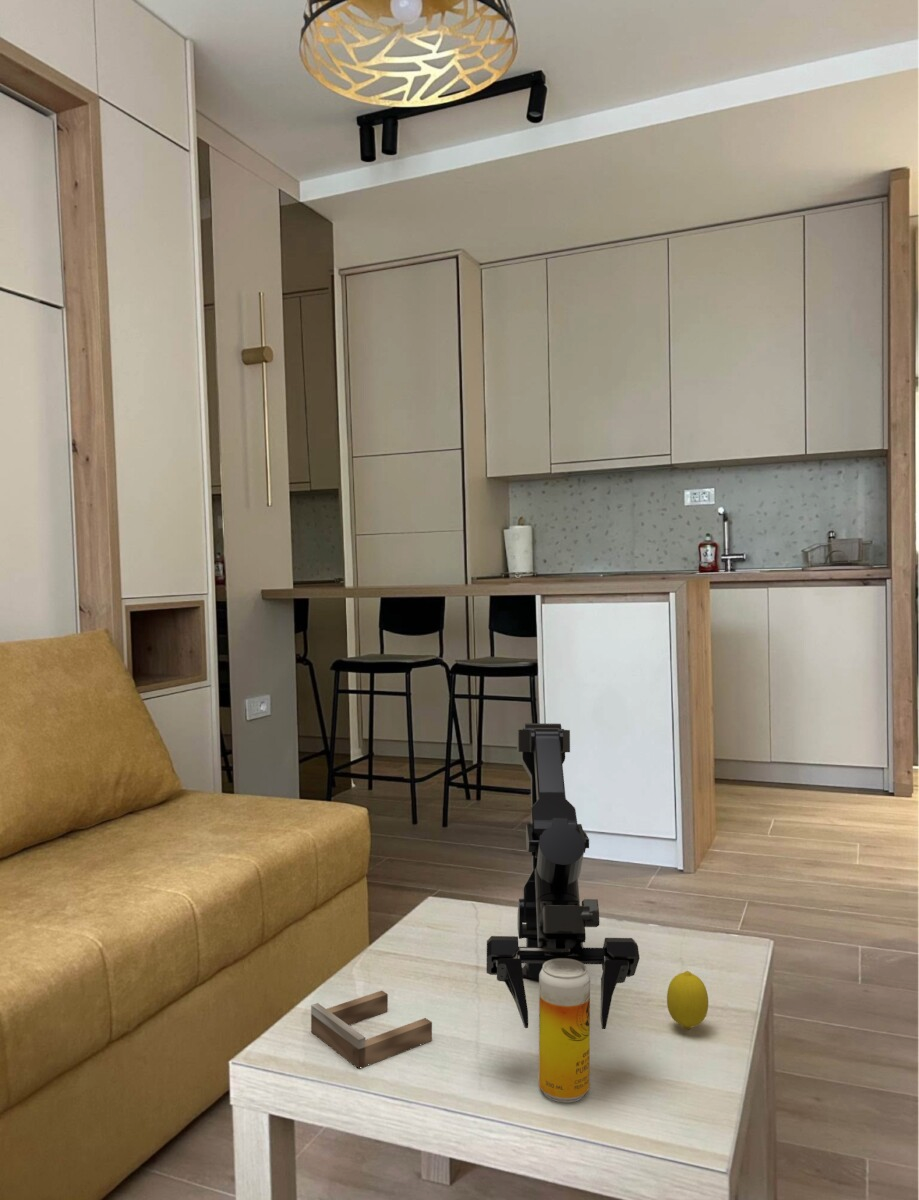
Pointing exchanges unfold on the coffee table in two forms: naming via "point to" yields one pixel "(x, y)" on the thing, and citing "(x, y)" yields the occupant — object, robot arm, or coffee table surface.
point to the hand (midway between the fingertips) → (565, 1027)
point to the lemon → (687, 1000)
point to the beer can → (564, 1029)
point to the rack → (352, 1044)
